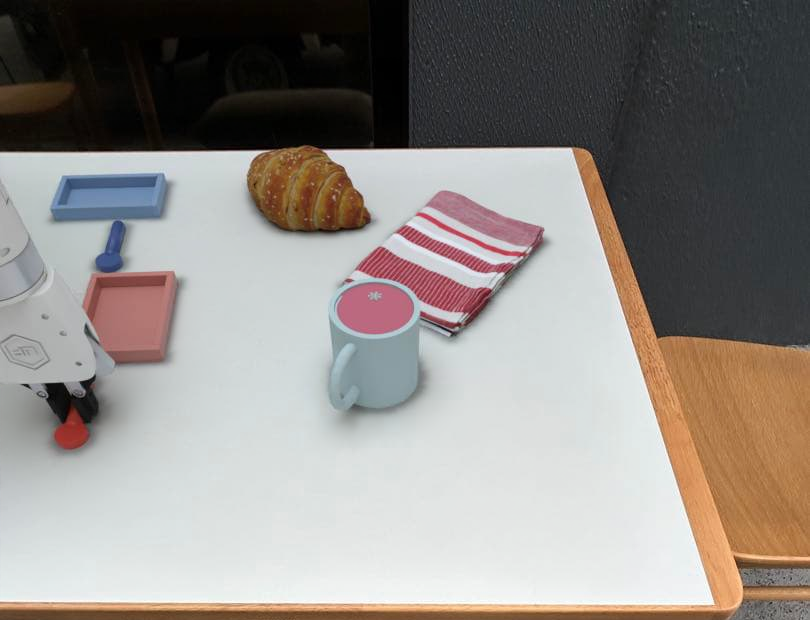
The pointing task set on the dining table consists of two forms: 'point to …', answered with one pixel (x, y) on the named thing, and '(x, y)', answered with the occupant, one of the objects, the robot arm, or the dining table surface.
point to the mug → (373, 343)
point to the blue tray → (109, 196)
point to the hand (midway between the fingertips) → (80, 414)
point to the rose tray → (132, 313)
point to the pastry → (305, 190)
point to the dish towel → (452, 258)
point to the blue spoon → (112, 250)
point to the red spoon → (72, 431)
